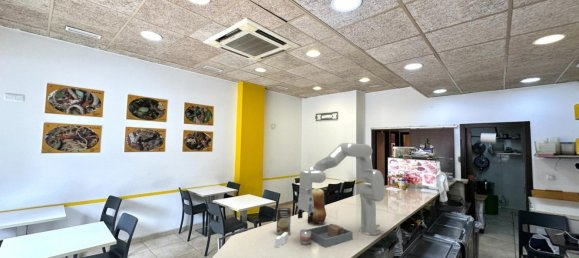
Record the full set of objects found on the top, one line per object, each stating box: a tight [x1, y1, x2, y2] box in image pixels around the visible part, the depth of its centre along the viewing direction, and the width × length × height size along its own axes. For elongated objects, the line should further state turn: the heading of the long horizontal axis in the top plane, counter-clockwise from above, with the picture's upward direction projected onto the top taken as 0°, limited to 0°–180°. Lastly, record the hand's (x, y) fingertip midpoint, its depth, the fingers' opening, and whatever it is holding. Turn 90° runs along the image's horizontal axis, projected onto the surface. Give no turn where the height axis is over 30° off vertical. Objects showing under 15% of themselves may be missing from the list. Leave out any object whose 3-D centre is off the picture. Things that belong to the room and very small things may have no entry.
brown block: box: [328, 223, 345, 237], centre depth 153 cm, size 6×8×6 cm
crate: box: [307, 223, 354, 249], centre depth 150 cm, size 22×18×5 cm
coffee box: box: [276, 207, 292, 236], centre depth 159 cm, size 9×6×16 cm
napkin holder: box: [274, 232, 289, 249], centre depth 142 cm, size 15×11×6 cm
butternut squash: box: [307, 188, 327, 225], centre depth 180 cm, size 14×13×25 cm
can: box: [299, 228, 312, 247], centre depth 143 cm, size 6×6×7 cm
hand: (304, 220), depth 144 cm, fingers open, 9 cm apart
